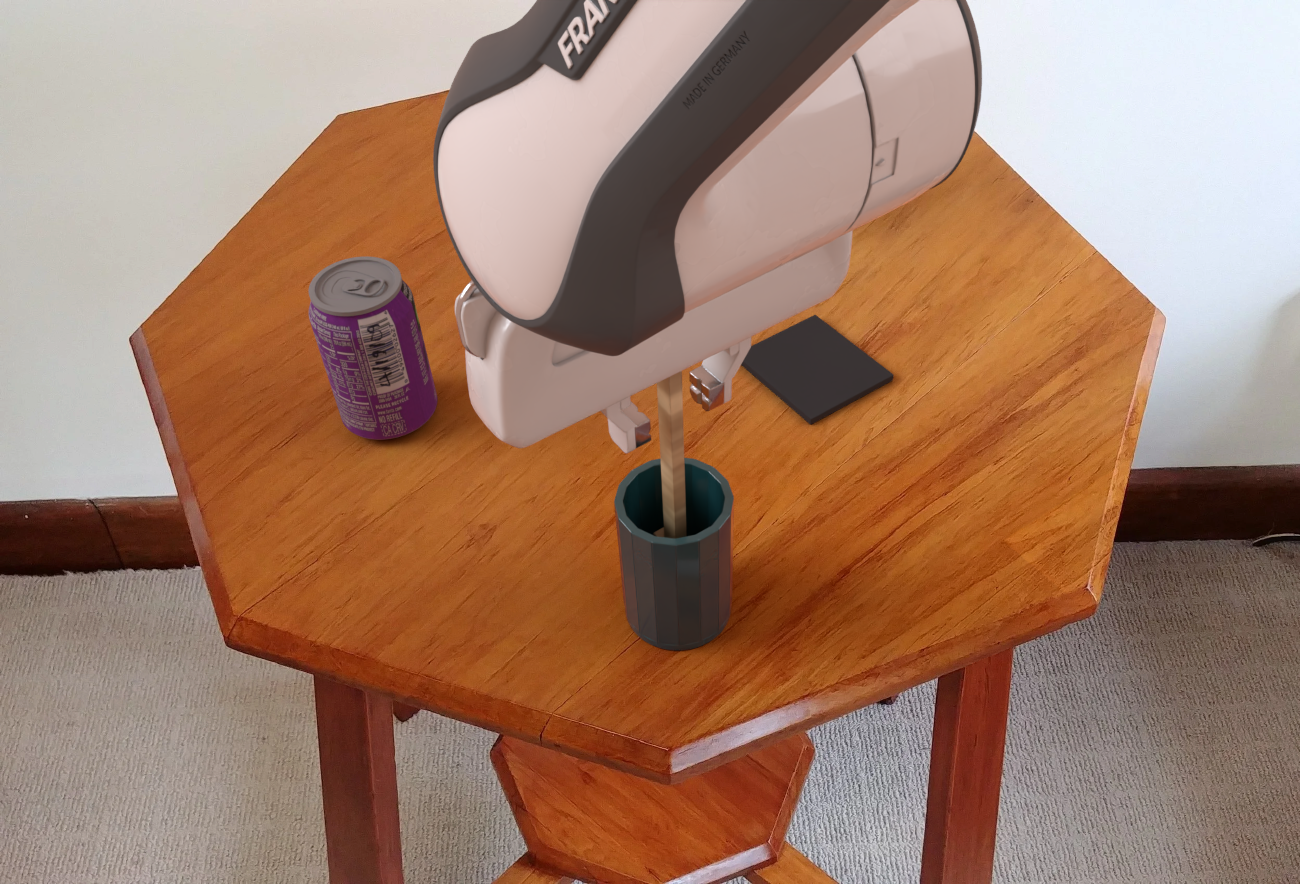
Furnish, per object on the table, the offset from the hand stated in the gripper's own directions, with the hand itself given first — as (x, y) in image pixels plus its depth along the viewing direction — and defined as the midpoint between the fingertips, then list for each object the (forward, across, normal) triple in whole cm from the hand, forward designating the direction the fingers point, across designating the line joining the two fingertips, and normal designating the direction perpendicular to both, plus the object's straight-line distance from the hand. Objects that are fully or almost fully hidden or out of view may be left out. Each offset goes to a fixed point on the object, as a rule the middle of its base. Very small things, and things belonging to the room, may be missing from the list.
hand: (671, 420), depth 58 cm
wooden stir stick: (+15, 0, 0) cm, 15 cm away
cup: (+16, 0, 0) cm, 16 cm away
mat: (+16, +21, +12) cm, 29 cm away
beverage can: (+16, -7, +27) cm, 32 cm away
